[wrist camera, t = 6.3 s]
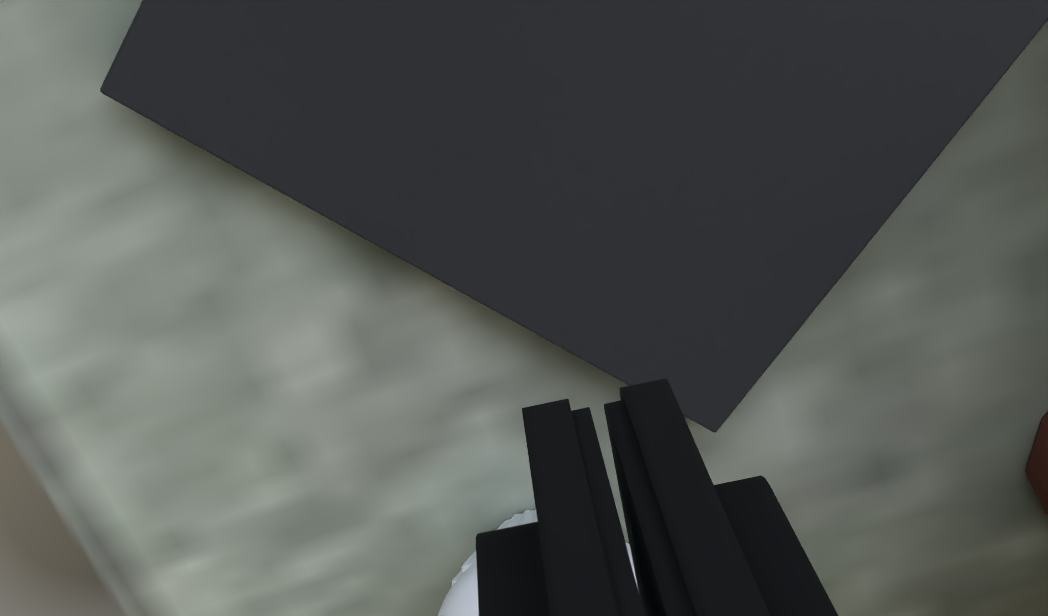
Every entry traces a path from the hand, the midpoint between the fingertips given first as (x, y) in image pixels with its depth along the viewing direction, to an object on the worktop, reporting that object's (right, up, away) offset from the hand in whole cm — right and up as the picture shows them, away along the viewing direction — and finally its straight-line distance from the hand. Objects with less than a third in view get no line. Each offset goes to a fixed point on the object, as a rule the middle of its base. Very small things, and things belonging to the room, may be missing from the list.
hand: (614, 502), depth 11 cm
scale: (+1, +9, +10) cm, 14 cm away
